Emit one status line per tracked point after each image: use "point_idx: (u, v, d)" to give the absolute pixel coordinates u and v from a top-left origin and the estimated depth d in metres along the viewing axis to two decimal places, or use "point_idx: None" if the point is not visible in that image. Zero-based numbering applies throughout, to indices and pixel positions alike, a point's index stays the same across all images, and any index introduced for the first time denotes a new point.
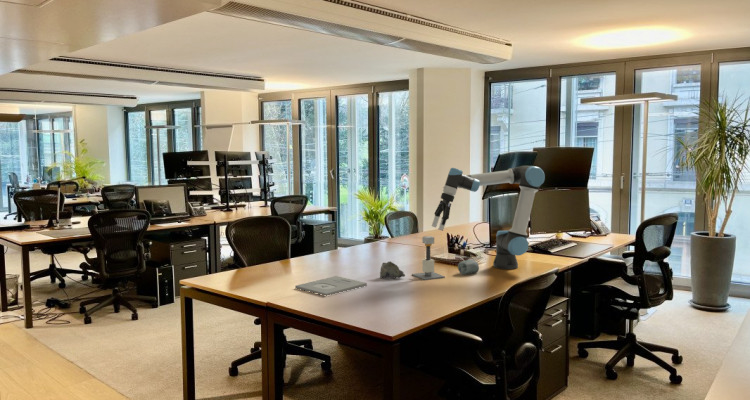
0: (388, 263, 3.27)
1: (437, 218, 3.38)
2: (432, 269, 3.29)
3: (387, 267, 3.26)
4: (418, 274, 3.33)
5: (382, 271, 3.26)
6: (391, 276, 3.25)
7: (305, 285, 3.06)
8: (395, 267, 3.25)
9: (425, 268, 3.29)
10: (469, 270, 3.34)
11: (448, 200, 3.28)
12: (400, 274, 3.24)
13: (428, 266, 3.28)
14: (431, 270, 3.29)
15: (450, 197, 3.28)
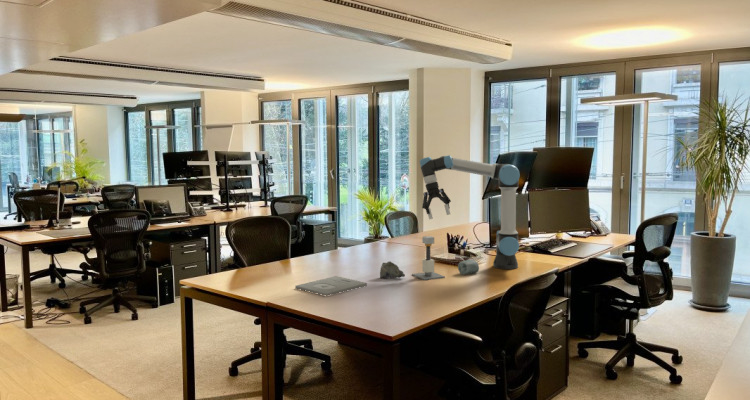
0: (388, 263, 3.27)
1: (446, 206, 3.45)
2: (432, 269, 3.29)
3: (387, 267, 3.26)
4: (418, 274, 3.33)
5: (382, 271, 3.26)
6: (391, 276, 3.25)
7: (305, 285, 3.06)
8: (395, 267, 3.25)
9: (425, 268, 3.29)
10: (469, 270, 3.34)
11: (427, 189, 3.41)
12: (400, 274, 3.24)
13: (428, 266, 3.28)
14: (431, 270, 3.29)
15: (427, 186, 3.41)
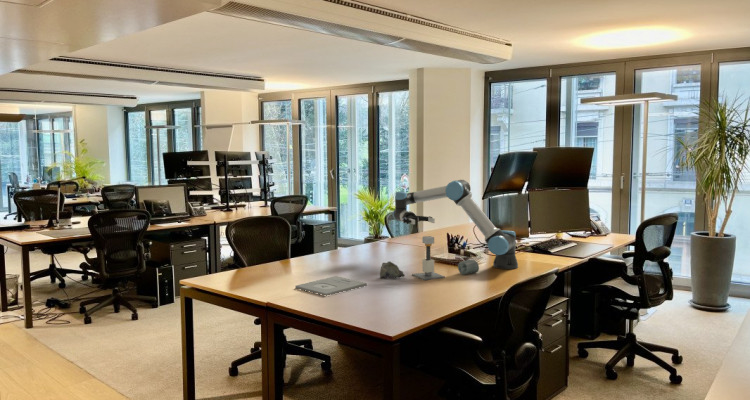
0: (388, 263, 3.27)
1: (429, 219, 3.52)
2: (432, 269, 3.29)
3: (387, 267, 3.26)
4: (418, 274, 3.33)
5: (382, 271, 3.26)
6: (391, 276, 3.25)
7: (305, 285, 3.06)
8: (395, 267, 3.25)
9: (425, 268, 3.29)
10: (469, 270, 3.34)
11: (405, 218, 3.59)
12: (400, 274, 3.24)
13: (428, 266, 3.28)
14: (431, 270, 3.29)
15: (403, 217, 3.60)
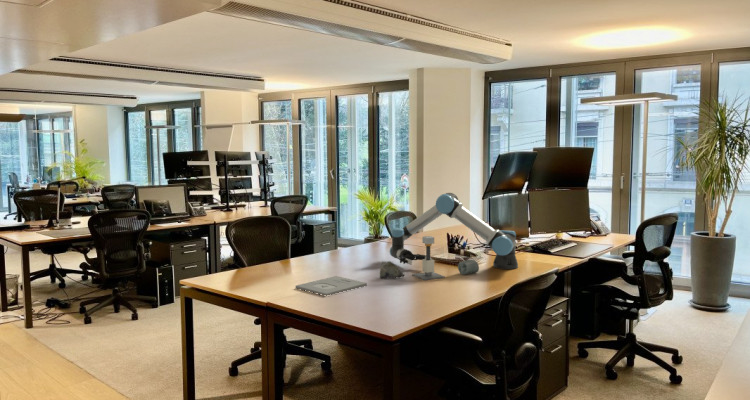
0: (388, 263, 3.27)
1: None
2: (432, 269, 3.29)
3: (387, 267, 3.26)
4: (418, 274, 3.33)
5: (382, 271, 3.26)
6: (391, 276, 3.25)
7: (305, 285, 3.06)
8: (395, 267, 3.25)
9: (425, 268, 3.29)
10: (469, 270, 3.34)
11: (402, 257, 3.52)
12: (400, 274, 3.24)
13: (428, 266, 3.28)
14: (431, 270, 3.29)
15: (400, 255, 3.54)
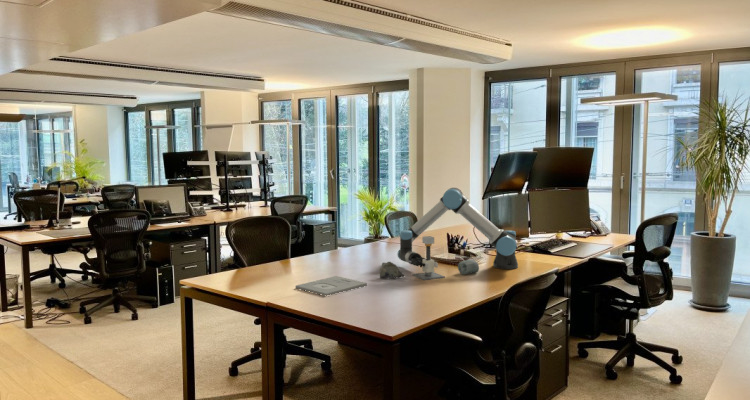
0: (388, 263, 3.26)
1: None
2: (432, 269, 3.29)
3: (386, 267, 3.26)
4: (418, 274, 3.33)
5: (381, 271, 3.26)
6: (390, 276, 3.25)
7: (305, 285, 3.06)
8: (394, 267, 3.25)
9: (425, 268, 3.29)
10: (469, 270, 3.34)
11: None
12: (399, 274, 3.24)
13: None
14: (431, 270, 3.29)
15: (409, 258, 3.44)
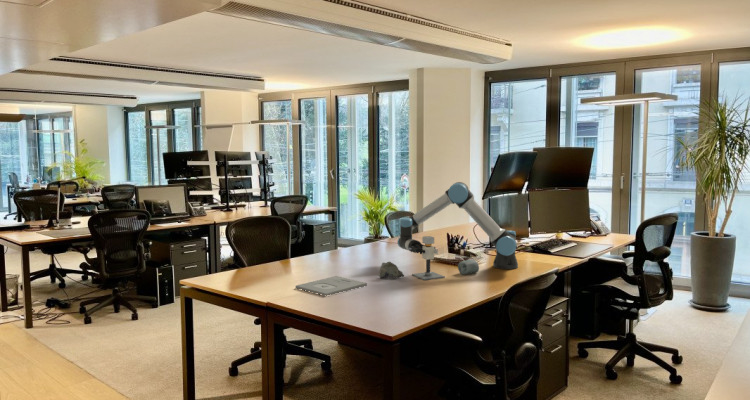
0: (387, 263, 3.26)
1: None
2: (432, 256, 3.29)
3: (386, 267, 3.26)
4: (418, 274, 3.33)
5: (381, 271, 3.26)
6: (390, 276, 3.25)
7: (305, 285, 3.06)
8: (394, 267, 3.25)
9: (425, 255, 3.28)
10: (469, 270, 3.34)
11: None
12: (399, 274, 3.23)
13: None
14: (431, 257, 3.28)
15: (409, 245, 3.43)
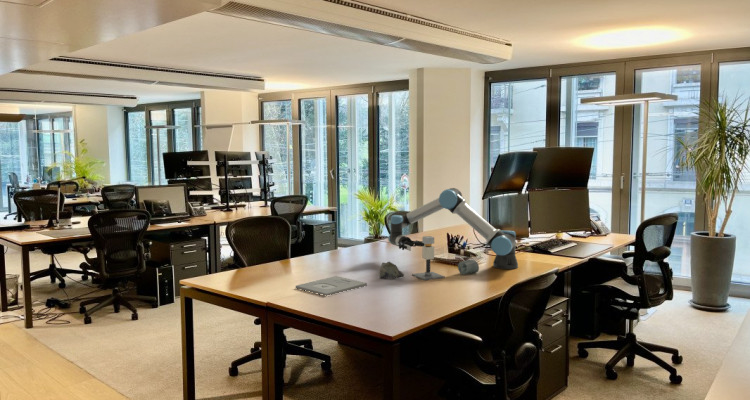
0: (387, 263, 3.26)
1: None
2: (432, 256, 3.29)
3: (386, 267, 3.26)
4: (418, 274, 3.33)
5: (381, 271, 3.26)
6: (390, 276, 3.25)
7: (305, 285, 3.06)
8: (394, 267, 3.25)
9: (425, 255, 3.28)
10: (469, 270, 3.34)
11: (401, 243, 3.53)
12: (399, 274, 3.23)
13: (428, 253, 3.27)
14: (431, 257, 3.28)
15: (399, 242, 3.55)
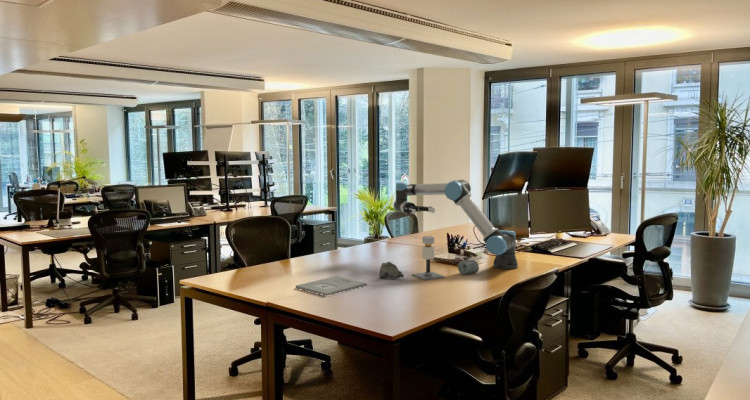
0: (387, 263, 3.26)
1: (429, 209, 3.56)
2: (432, 256, 3.29)
3: (386, 267, 3.26)
4: (418, 274, 3.33)
5: (381, 271, 3.26)
6: (390, 276, 3.24)
7: (305, 285, 3.06)
8: (394, 267, 3.24)
9: (425, 255, 3.28)
10: (469, 270, 3.34)
11: (405, 208, 3.63)
12: (399, 275, 3.23)
13: (428, 253, 3.27)
14: (431, 257, 3.28)
15: (404, 207, 3.64)
